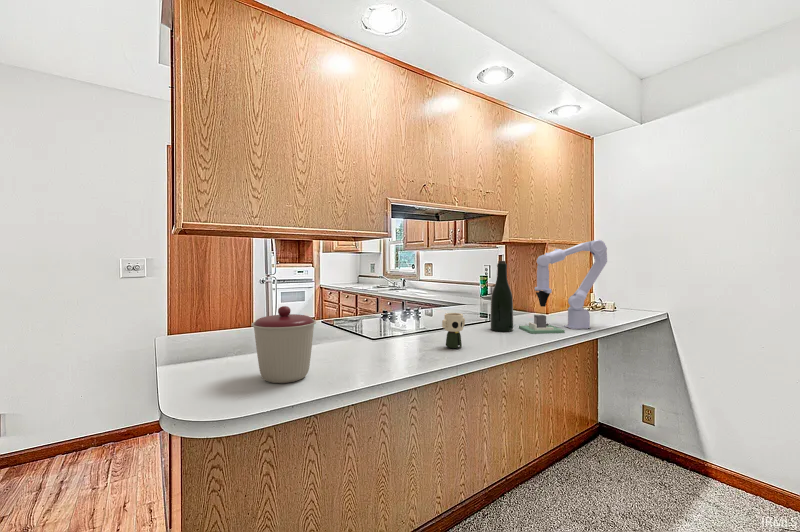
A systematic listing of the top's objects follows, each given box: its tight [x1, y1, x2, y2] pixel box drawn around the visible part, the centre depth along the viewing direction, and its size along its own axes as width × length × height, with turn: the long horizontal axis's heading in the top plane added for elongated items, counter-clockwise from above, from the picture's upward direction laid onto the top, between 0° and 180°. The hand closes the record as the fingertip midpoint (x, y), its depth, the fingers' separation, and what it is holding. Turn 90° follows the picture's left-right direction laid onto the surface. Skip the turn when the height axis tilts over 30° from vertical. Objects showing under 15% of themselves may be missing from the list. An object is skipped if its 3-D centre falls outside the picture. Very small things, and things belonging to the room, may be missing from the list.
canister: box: [251, 305, 317, 384], centre depth 119 cm, size 18×18×21 cm
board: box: [518, 322, 566, 335], centre depth 193 cm, size 16×14×4 cm
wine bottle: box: [489, 260, 514, 333], centre depth 194 cm, size 10×10×33 cm
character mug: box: [441, 312, 466, 349], centre depth 158 cm, size 11×7×13 cm, turn 122°
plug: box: [533, 314, 549, 328], centre depth 191 cm, size 6×4×6 cm, turn 96°
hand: (542, 306), depth 204 cm, fingers closed
